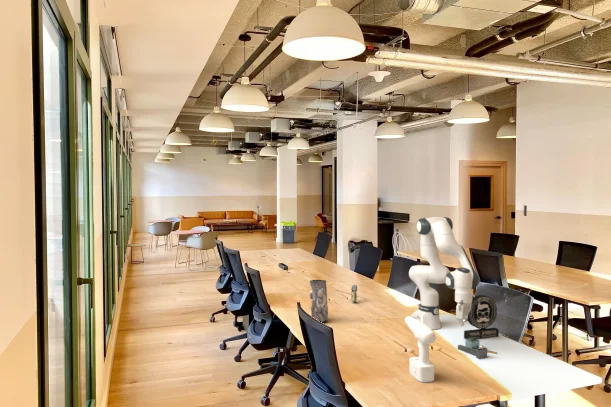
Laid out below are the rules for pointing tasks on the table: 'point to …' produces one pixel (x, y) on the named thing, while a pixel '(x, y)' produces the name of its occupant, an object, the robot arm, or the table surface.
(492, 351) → the gold ball-headed pin
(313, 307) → the sculpture
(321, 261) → the table surface
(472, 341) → the green knobbed cube
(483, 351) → the grey t-shaped bar
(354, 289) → the toy
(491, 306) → the decorative sign
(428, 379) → the power drill
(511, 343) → the table surface
